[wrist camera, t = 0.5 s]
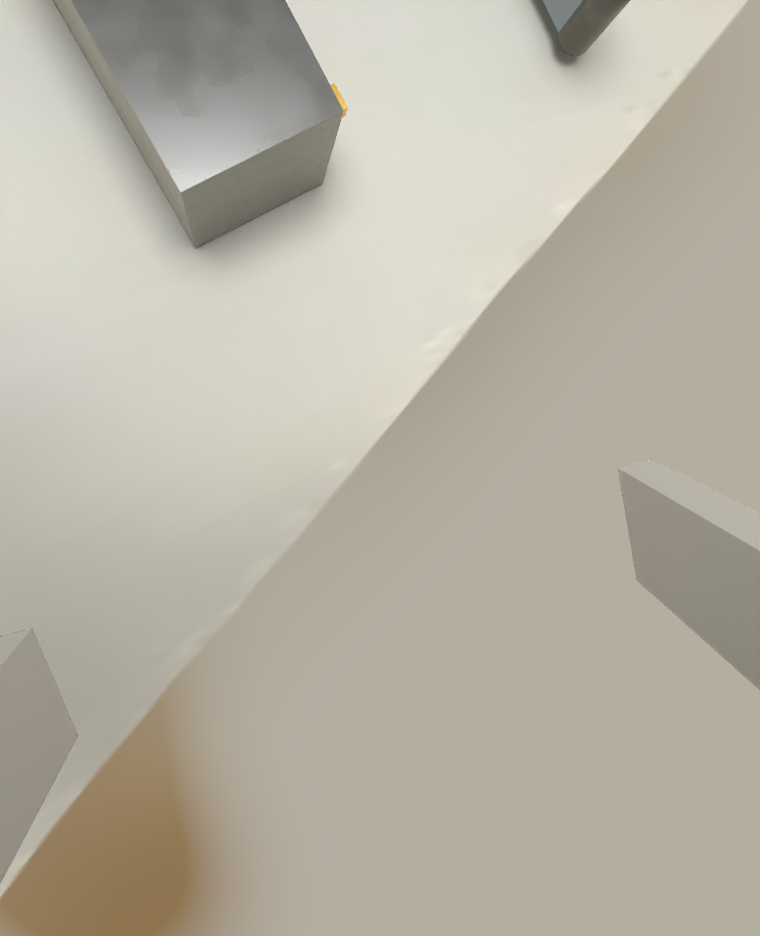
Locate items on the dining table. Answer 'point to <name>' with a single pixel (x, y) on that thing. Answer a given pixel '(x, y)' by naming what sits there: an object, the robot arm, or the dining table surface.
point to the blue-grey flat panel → (581, 21)
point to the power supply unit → (214, 101)
